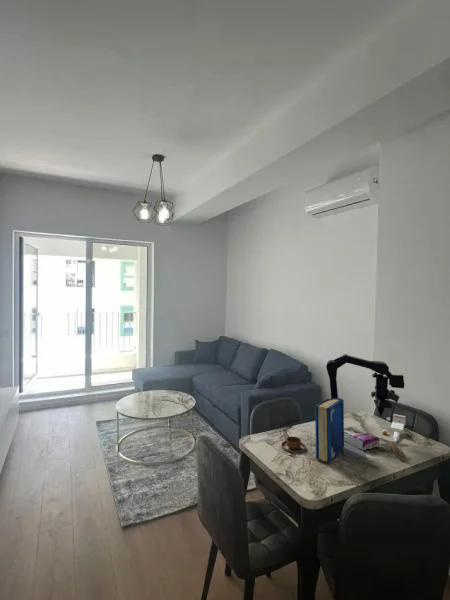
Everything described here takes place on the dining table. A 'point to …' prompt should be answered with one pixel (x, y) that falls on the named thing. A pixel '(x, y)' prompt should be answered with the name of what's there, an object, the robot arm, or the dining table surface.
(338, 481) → the dining table surface
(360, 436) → the candy bar box
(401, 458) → the back rail
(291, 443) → the brown cup and saucer
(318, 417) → the book
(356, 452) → the mat
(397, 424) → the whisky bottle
